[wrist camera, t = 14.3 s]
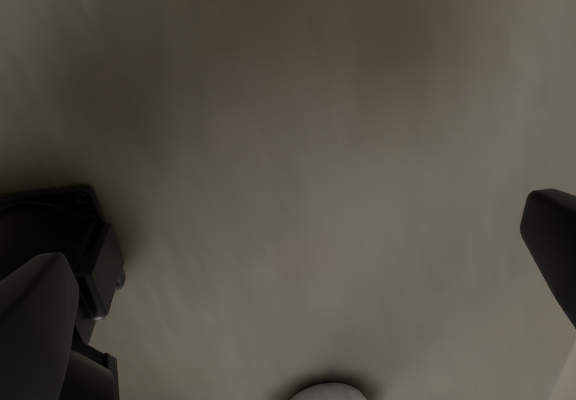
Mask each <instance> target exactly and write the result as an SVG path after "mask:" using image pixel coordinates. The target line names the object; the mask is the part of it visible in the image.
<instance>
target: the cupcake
mask: <svg viewBox="0 0 576 400" xmlns="http://www.w3.org/2000/svg"><path fill="white" fill-rule="evenodd" d="M290 400H367V399H366V398H365V396H364V395H363V394H362V393H361V392H360V391H359V390H358V389H356V388H354V387H352V386H350V385H346V384H343V383H324V384H318V385H315V386H312V387H309V388H306V389H304V390H302V391H300V392H299V393H297V394H296V395H295V396H293V397H292V398H291V399H290Z"/></svg>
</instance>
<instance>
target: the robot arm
mask: <svg viewBox="0 0 576 400" xmlns="http://www.w3.org/2000/svg"><path fill="white" fill-rule="evenodd" d="M80 193H82V194H85V195H86V196H87V197H88V198H82V197H80V195H79V194H80ZM520 233H521V236H522V238H523V240H524V242H525V244H526V246H527V248H528V249H529V251H530V253H531V255H532V257H533V259H534V260H535V262H536V264H537V266H538V268H539V270H540V271H541V273H542V275H543V277H544V279H545V281H546V283H547V284H548V286H549V288H550V290H551V292H552V293H553V295H554V297H555V298H556V300H557V302H558V303H559V305H560V306H561V308H562V309H563V311H564V312H565V314H566V315H567V317H568V318H569V320H570V321H571V322H572V324H573V325H574V327H575V328H576V196H574V195H571V194H568V193H565V192H562V191H559V190H556V189H543V190H536V191H532V192H531V193H529V195H528V196H527V199H526V203H525V207H524V211H523V215H522V219H521V223H520ZM123 263H124V260H123V257H122V254H121V251H120V248H119V246H118V243H117V240H116V237H115V234H114V231H113V229H112V226H111V224H109V223H108V222H106V221H105V220H104V217H103V214H102V211H101V209H100V206H99V203H98V200H97V197H96V195H95V192H94V190H93V189H92V188H91V187H89V186H87V185H75V186H67V187H59V188H51V189H42V190H34V191H26V192H18V193H9V194H1V195H0V400H119V386H118V371H117V359H116V358H115V357H113V356H111V355H110V354H108V353H104V354H103V353H101V352H99V351H98V350H96V349H94V348H93V347H91V346H89V345H88V344H89V341H90V338H91V335H92V332H93V329H94V326H95V323H96V320H100V319H104V318H105V317H106V316H107V314H108V312H109V309H110V305H111V302H112V299H113V296H114V292H115V290H118V289H121V288H122V287H123V285H124V282H125V275H124V273H123V270H122V266H123Z"/></svg>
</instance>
